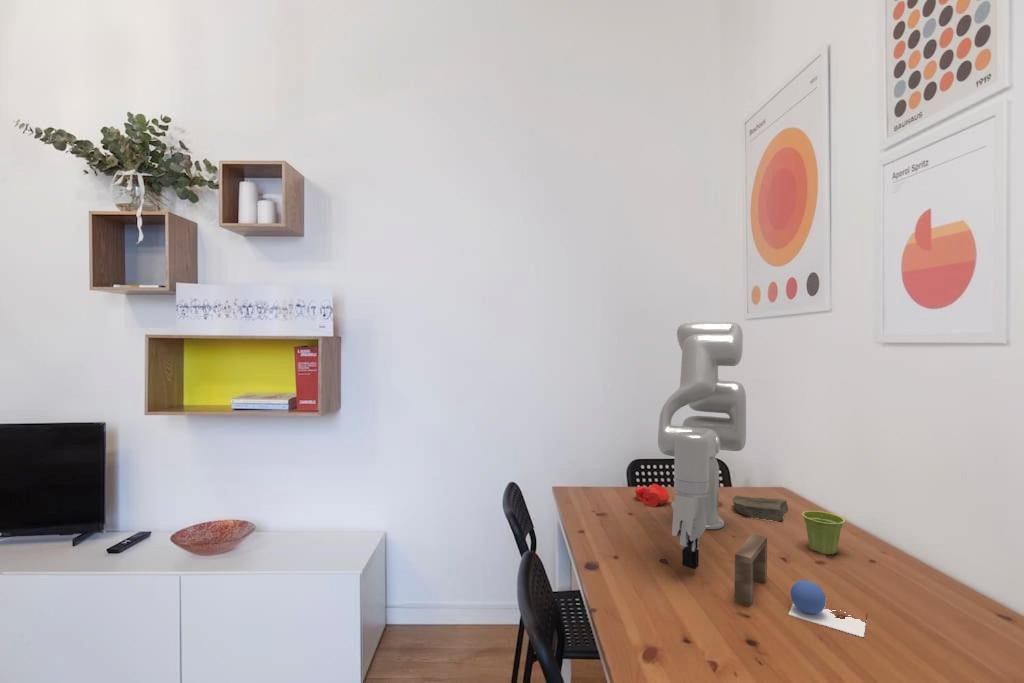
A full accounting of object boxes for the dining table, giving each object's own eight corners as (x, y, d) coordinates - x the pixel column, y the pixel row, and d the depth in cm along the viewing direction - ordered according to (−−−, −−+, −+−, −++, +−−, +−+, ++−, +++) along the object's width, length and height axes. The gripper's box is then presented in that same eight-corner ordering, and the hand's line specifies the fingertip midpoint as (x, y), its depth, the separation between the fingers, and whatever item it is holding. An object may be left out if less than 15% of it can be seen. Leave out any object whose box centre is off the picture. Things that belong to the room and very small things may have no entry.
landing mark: (788, 615, 97) (788, 614, 97) (798, 592, 106) (798, 591, 106) (863, 638, 89) (863, 637, 89) (867, 611, 99) (867, 610, 99)
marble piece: (787, 510, 162) (787, 498, 162) (795, 526, 148) (795, 511, 148) (731, 504, 168) (731, 491, 168) (734, 518, 154) (734, 504, 154)
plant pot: (851, 559, 123) (851, 524, 124) (809, 555, 125) (810, 521, 125) (835, 545, 133) (835, 512, 133) (796, 541, 135) (796, 509, 135)
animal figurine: (670, 497, 175) (670, 482, 175) (669, 509, 161) (669, 493, 161) (636, 493, 179) (637, 479, 179) (632, 504, 165) (633, 489, 165)
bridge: (734, 601, 101) (734, 554, 102) (752, 576, 113) (752, 533, 113) (750, 606, 100) (750, 558, 100) (766, 580, 111) (767, 536, 111)
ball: (801, 581, 96) (827, 611, 93) (812, 570, 100) (837, 598, 97) (779, 595, 99) (803, 624, 96) (790, 583, 103) (813, 612, 100)
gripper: (686, 477, 123) (685, 552, 123) (663, 490, 111) (662, 572, 111) (717, 482, 118) (716, 560, 118) (697, 496, 107) (696, 583, 106)
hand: (690, 566), depth 115 cm, fingers closed
